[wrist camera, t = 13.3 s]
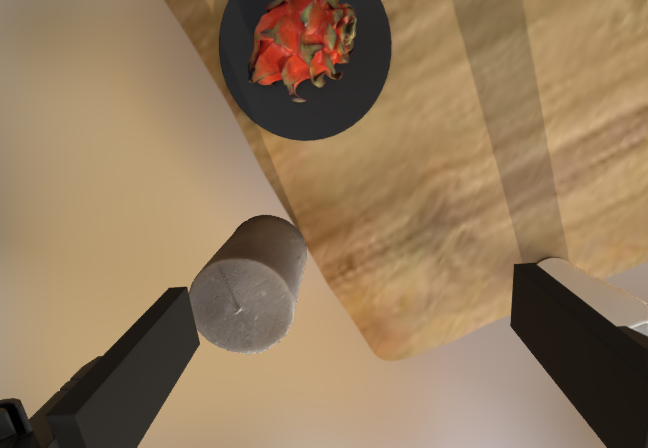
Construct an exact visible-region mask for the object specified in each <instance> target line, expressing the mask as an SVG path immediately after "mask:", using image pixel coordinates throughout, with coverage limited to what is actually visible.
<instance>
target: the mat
mask: <svg viewBox="0 0 648 448" xmlns="http://www.w3.org/2000/svg"><path fill="white" fill-rule="evenodd" d="M274 1H276V0H229V1H228V4H227V6H226V9H225V11H224V14H223V18H222V22H221V27H220V35H219V55H220V63H221V67H222V72H223V75H224V78H225V81H226V84H227V86H228V88H229V90H230V92H231V94H232V96H233V98H234V99H235V101H236V102H237V104H238V105H239V107H240V108H241V109H242V110H243V111H244V112H245V114H246V115H247V116H248V117H250V118H251V119H252V120H253V121H254V122H255V123H257V124H258V125H259V126H261V127H262V128H264V129H266V130H267V131H269V132H271V133H273V134H276V135H278V136H281V137H284V138H288V139H292V140H302V141H307V140H318V139H324V138H327V137H331V136H334V135H336V134H338V133H341V132H343V131H345V130H346V129H348V128H349V127H351V126H353V125H354V124H355V123H356V122H358V121H359V120H360V119H361V118H362V117H363V116H364V115H365V114H366V113H367V112H368V111H369V110H370V108H371V107H372V105H373V104H374V103H375V101H376V100H377V98H378V96H379V94H380V92H381V91H382V88H383V86H384V83H385V81H386V78H387V74H388V71H389V67H390V59H391V33H390V27H389V22H388V18H387V15H386V12H385V9H384V7H383V4H382V2H381V0H338V4H339V5H340V4H343V3H347V4H349V5H351V6H352V7H353V8H354V9H355V10H357V11H356V13H357V14H356V13H354V14H355V17H354V18H356V24H355V25H356V36H355V37H354V39H353V41H354V45H353V48H354V49H353V52H352V54H351V55H350V56H349V58H350V60H349V63H341V64H340V63H335V64H334V69H335V71H336V72H338V73H340V72H341V71H343V73H342V77H341V78H340V79H339V80H335V79H331V78H330V77H329V76H328V75H326V74H324V80H325V84H324V85H323V86H322V87H320V88H319V87H317V86H315V85H314V84H313V83H312V81H311V79H310V78H307V79H305V80H303V81H301V82H300V83H299V84H298V85H297V87H296V89H295V91H296V94H297V95H298V96H299V97H301V98H303V99H304V100H307V101H305V102H294V101H292V99H293V98H296V97H295V96H294V95H293V93H292V94H291V95H289V94H288V89H287V85H284V82H283V80H279V81H277V83H276V84H275V85H274V86H272V85H270V84H269V85H261V84H259V83H257V82H256V84H255V85H256V86H255V85H254V84H253V83H252V84H251V83H250V82H249V81H248V75H249V73H248V62H249V60H250V57H251V55H252V53H253V50H254V41H253V38H254V32H255V29H256V26H257V25H258V23H259V22H260V19H261V17H262V16H263V15H265V14H266V13H267V11H266V10H265V8H266V6H267V5H268V4H269V3H270V2H274ZM353 20H354V19H353ZM254 71H255V70H254ZM254 71H253V73H254ZM253 73H252V78H253Z"/></svg>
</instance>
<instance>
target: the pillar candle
mask: <svg viewBox="0 0 648 448" xmlns="http://www.w3.org/2000/svg"><path fill="white" fill-rule="evenodd" d="M306 258H307V252H306V244H305V242H304V238H303V236H302V235H301V233H300V232H299V231H298V229H297V228H296V227H295V226H293V225H292V224H290V222H288V221H287V220H285V219H282V218H279V217H276V216H272V215H260V216H255V217H252V218H250V219H248V221H245V222H243V223H242V224H241V225H240V226H239V227H238V228H237V229H236V231H235V232H234V234H233V235H232V236H231V237H230V238H229V239H228V240H227V242H226V243H225V244H224V245H223V246H222V247H221V248H220V249H219V250H218V251H217V252H216V254H215V255H214V256H213V257H212V258H211V260H210V261H209V262H208V263H207V264H206V265H205V266H204V268H203V269H202V270H201V271H200V272H199V274H198V275H197V276H196V278H195V279H194V281H193V282H192V285H191V288H190V291H189V297H190V302H191V306H192V311H193V315H194V320H195V324H196V328H197V330H198V331H199V332H200V333H201V334H202V335H203V336H204V337H205V338H206V339H207V340H208V341H209V342H211V343H212V344H214V345H216V346H218V347H220V348H223V349H225V350H227V351H231V352H237V353H245V354H253V353H260V352H263V351H265V350H267V349H269V348H270V347H272V346H273V345H275V344H277V343H279V342H280V340H281V338H283V337H285V336H286V334H287V332H288V330H289V328H290V326H291V325H292V322H293V317H294V312H295V307H296V303H297V298H298V294H299V290H300V285H301V281H302V277H303V272H304V268H305V263H306Z"/></svg>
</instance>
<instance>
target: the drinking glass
mask: <svg viewBox="0 0 648 448" xmlns="http://www.w3.org/2000/svg"><path fill="white" fill-rule="evenodd" d="M537 265H538V266H539V267H541V268H542V269H543V270H545V271H546V272H547V273H548V274H550V275H551V276H552V277H554V278H555V279H556V280H557V281H559V282H560V283H561V284H563V285H564V286H565V287H566V288H568V289H569V290H570V291H572V292H573V293H574V294H575V295H577V296H578V297H579V298H581V299H582V300H583V301H584V302H586V303H587V304H588V305H590V306H591V307H592V308H593V309H595V310H596V311H597V312H599V313H600V314H601V315H602V316H604V317H605V318H606V319H608V320H609V321H610V322H611V323H613V324H614V325H615V326H627V327H629V328H631V329H633V330H636V331H638V332H640V333H642V334H644V335H646V336H648V304H647V303H645V302H643V301H642V300H640V299H638V298H636V297H635V296H633V295H631V294H629V293H627V292H625V291H623V290H621V289H619V288H617V287H615V286H613V285H611V284H609V283H607V282H605V281H603V280H601V279H599V278H597V277H595V276H593V275H591V274H589V273H587V272H586V271H584V270H582V269H580V268H578V267H576V266H574V265H573V264H571V263H570V262H568V261H566V260H564V259H561V258H549V259H545V260H543V261H541V262H539V263H538V264H537Z"/></svg>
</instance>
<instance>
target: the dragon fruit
mask: <svg viewBox="0 0 648 448" xmlns="http://www.w3.org/2000/svg"><path fill="white" fill-rule="evenodd" d="M265 10H266V11H267V13H266V14H265V15H263V16H262V17H261V19H260V22H259V23H258V25H257V26H256V29H255V32H254V38H253V41H254V50H253V53H252V55H251V57H250V60H249V62H248V73H249V75H248V81H249V82H250V83H251V84H252V83H253V84H254V85H255V84H256V82H257V83H259V84H261V85H269V84H270V85H272V86H274V85H275V84H276V83H277V81H279V80H283V82H284V85H287V89H288V94H289V95H291V94H292V93H293V95H294V96H295V97H296V98H293V99H292V101H294V102H305V101H307V100H304V99H303V98H301V97H299V96H298V95H297V94H296V91H295V89H296V87H297V85H298V84H299V83H300V82H301V81H303V80H305V79H307V78H310V79H311V81H312V83H313V84H314V85H315V86H317V87H319V88H320V87H322V86H323V85H324V84H325V80H324V74H326V75H328V76H329V77H330V78H331V79H335V80H339V79H340V78H341V77H342V73H343V71H341V72H340V73H338V72H336V71H335V69H334V64H335V63H340V64H341V63H349V60H350V58H349V56H350V55H351V54H352V52H353V49H354V48H353V45H354V41H353V39H354V37H355V36H356V25H355V24H356V18H354V17H355V14H354V13H356V11H357V10H355V9H354V8H353V7H352V6H351V5H349V4H347V3H343V4H340V5H339V4H338V0H276V1H274V2H270V3H269V4H268V5H267V6H266V8H265ZM356 14H357V13H356ZM353 19H354V20H353ZM254 70H255V71H254ZM253 71H254V73H253ZM252 73H253V78H252ZM255 86H256V85H255Z"/></svg>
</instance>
